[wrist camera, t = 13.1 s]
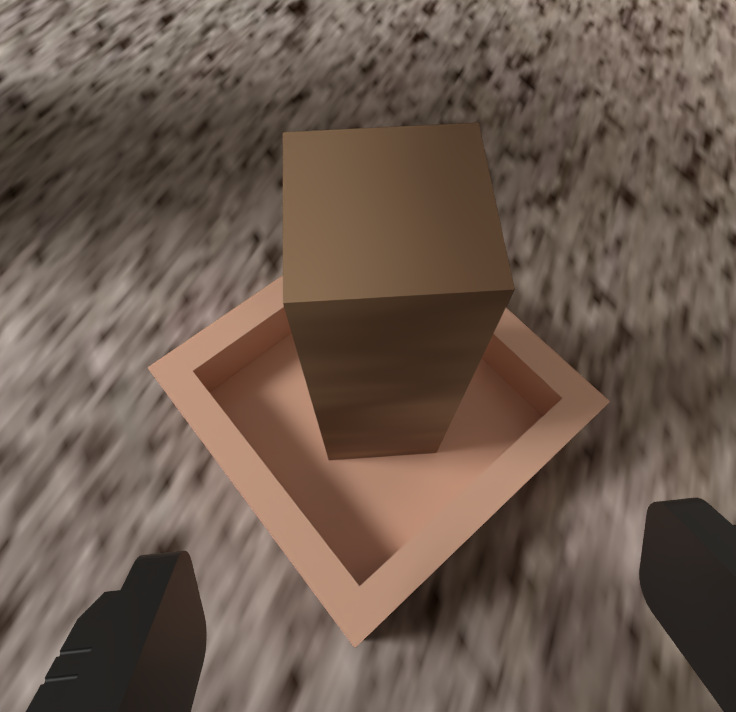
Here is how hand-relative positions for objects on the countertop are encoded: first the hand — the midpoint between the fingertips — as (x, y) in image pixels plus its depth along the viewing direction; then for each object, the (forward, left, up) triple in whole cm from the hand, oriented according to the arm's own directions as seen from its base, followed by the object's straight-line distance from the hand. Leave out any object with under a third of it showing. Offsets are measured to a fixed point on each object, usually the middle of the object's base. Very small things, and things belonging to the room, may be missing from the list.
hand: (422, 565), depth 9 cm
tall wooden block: (-5, +3, -7) cm, 9 cm away
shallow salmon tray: (-5, +3, -8) cm, 9 cm away
